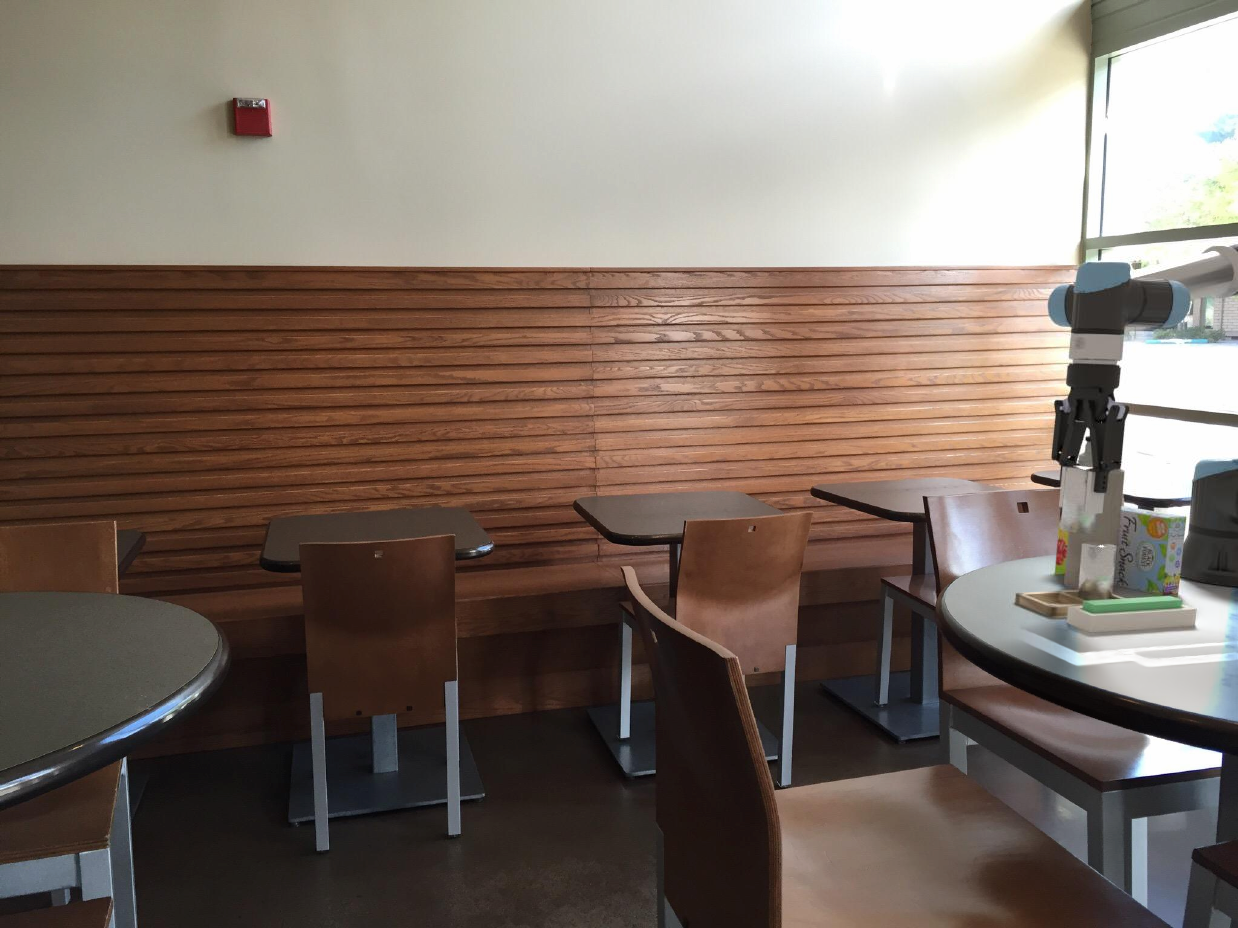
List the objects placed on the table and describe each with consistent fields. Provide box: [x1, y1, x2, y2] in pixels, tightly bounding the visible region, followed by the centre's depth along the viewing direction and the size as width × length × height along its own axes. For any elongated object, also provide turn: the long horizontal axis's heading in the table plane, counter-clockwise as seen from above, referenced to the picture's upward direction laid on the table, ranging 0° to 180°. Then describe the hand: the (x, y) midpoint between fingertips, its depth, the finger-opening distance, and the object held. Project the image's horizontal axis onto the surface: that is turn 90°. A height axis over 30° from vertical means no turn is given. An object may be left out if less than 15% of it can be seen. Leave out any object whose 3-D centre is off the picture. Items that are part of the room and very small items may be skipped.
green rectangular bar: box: [1082, 595, 1183, 613], centre depth 147 cm, size 16×2×4 cm, turn 105°
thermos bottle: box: [1063, 435, 1126, 592], centre depth 169 cm, size 8×8×28 cm
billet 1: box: [1061, 466, 1097, 534], centre depth 153 cm, size 5×5×10 cm
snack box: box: [1054, 505, 1187, 596], centre depth 174 cm, size 21×6×15 cm, turn 29°
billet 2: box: [1078, 542, 1117, 601], centre depth 157 cm, size 5×5×10 cm
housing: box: [1066, 603, 1197, 633], centre depth 147 cm, size 19×5×4 cm, turn 105°
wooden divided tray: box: [1012, 589, 1125, 619], centre depth 157 cm, size 16×10×3 cm, turn 105°
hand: (1080, 509), depth 154 cm, fingers closed on billet 1, 5 cm apart
